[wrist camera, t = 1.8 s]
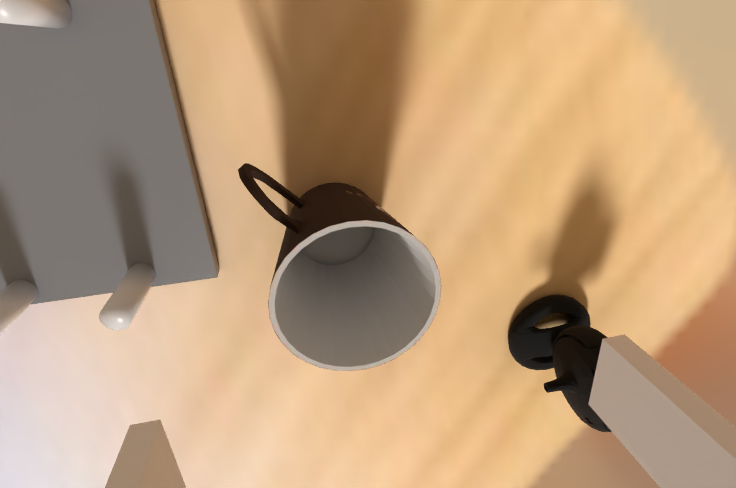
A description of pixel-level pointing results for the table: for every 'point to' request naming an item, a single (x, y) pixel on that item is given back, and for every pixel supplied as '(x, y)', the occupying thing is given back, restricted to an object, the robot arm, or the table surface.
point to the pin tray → (93, 160)
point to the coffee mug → (346, 278)
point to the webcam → (561, 351)
